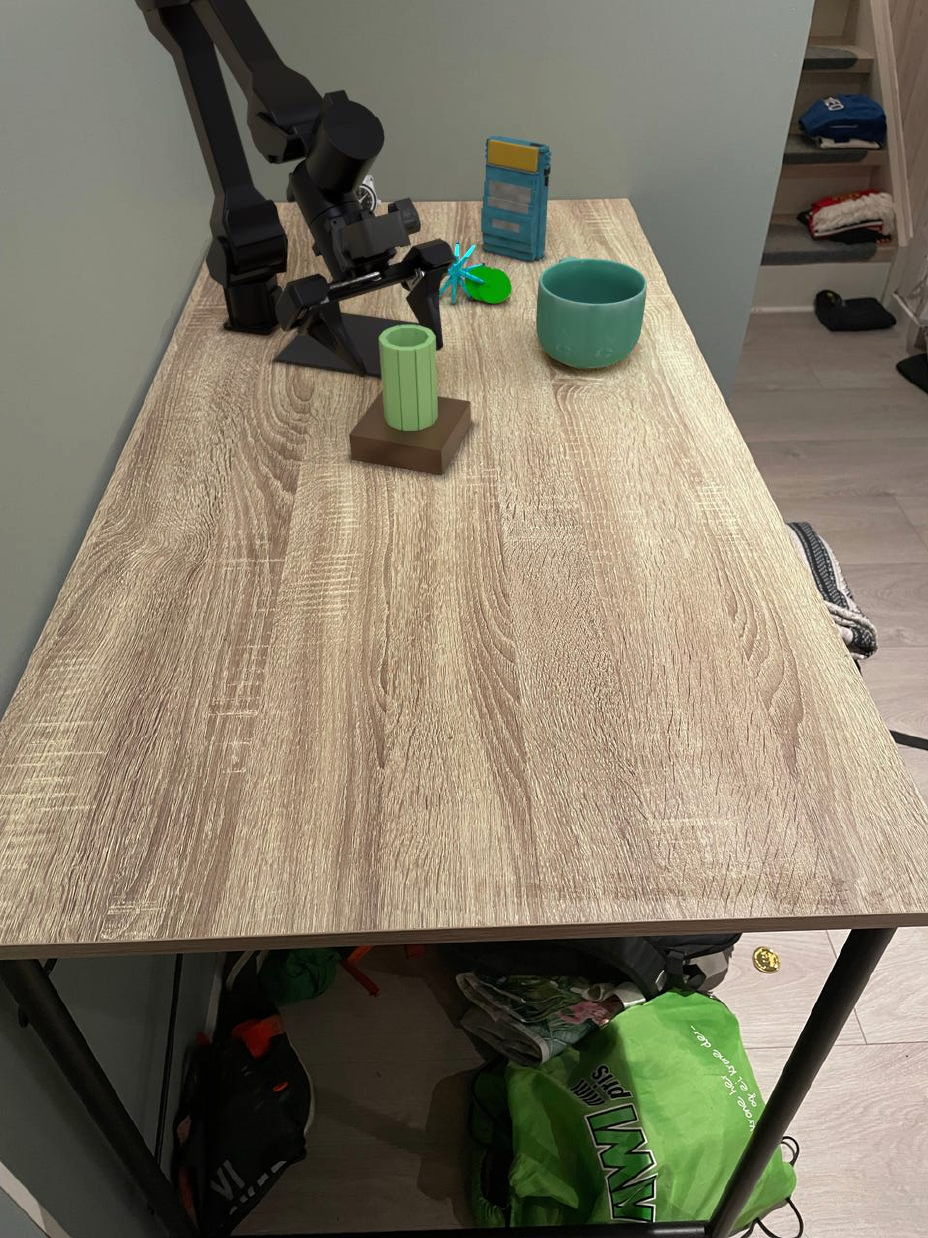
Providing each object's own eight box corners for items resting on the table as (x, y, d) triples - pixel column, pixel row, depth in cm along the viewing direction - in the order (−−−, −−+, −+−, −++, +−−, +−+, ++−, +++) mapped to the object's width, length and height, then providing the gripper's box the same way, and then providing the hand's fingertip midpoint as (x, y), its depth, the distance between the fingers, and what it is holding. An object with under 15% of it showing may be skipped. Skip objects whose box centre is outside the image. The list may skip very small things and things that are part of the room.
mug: (649, 377, 107) (661, 300, 101) (544, 384, 106) (549, 306, 100) (615, 315, 119) (623, 242, 113) (520, 321, 118) (523, 248, 112)
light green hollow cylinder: (377, 426, 94) (370, 345, 88) (396, 400, 98) (391, 320, 92) (426, 435, 93) (423, 353, 87) (443, 407, 97) (442, 327, 91)
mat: (275, 361, 111) (274, 358, 111) (321, 312, 120) (321, 309, 120) (382, 377, 108) (382, 374, 107) (422, 326, 117) (421, 323, 117)
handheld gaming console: (548, 255, 134) (554, 144, 123) (534, 265, 131) (539, 153, 121) (491, 242, 137) (492, 133, 127) (476, 251, 135) (477, 141, 125)
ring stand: (351, 459, 95) (344, 399, 90) (385, 411, 102) (381, 353, 97) (442, 475, 93) (440, 414, 88) (470, 425, 100) (470, 366, 95)
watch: (344, 267, 131) (336, 186, 124) (353, 245, 137) (347, 166, 129) (383, 268, 131) (377, 187, 123) (390, 246, 137) (386, 167, 129)
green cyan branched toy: (415, 287, 121) (436, 228, 119) (420, 296, 127) (439, 241, 126) (500, 320, 121) (521, 262, 120) (500, 328, 128) (520, 273, 126)
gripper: (270, 193, 80) (348, 358, 81) (443, 152, 88) (512, 302, 89) (244, 256, 90) (314, 401, 91) (402, 213, 98) (464, 347, 99)
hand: (403, 362), depth 92 cm, fingers open, 9 cm apart
